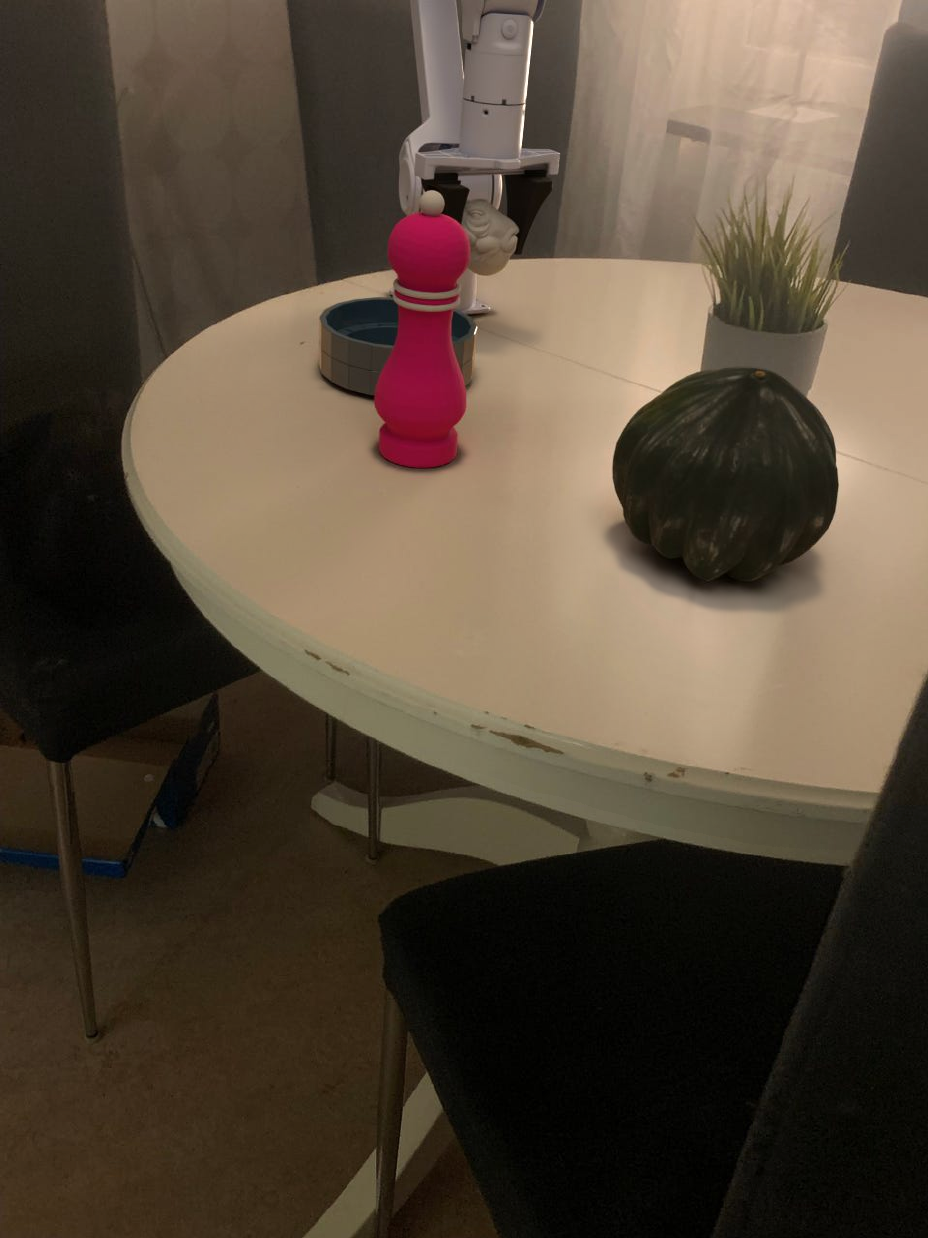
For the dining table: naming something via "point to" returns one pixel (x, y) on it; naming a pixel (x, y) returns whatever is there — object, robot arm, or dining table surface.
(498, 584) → the dining table surface
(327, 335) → the bowl
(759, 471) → the squash
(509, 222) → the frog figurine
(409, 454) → the pepper mill
